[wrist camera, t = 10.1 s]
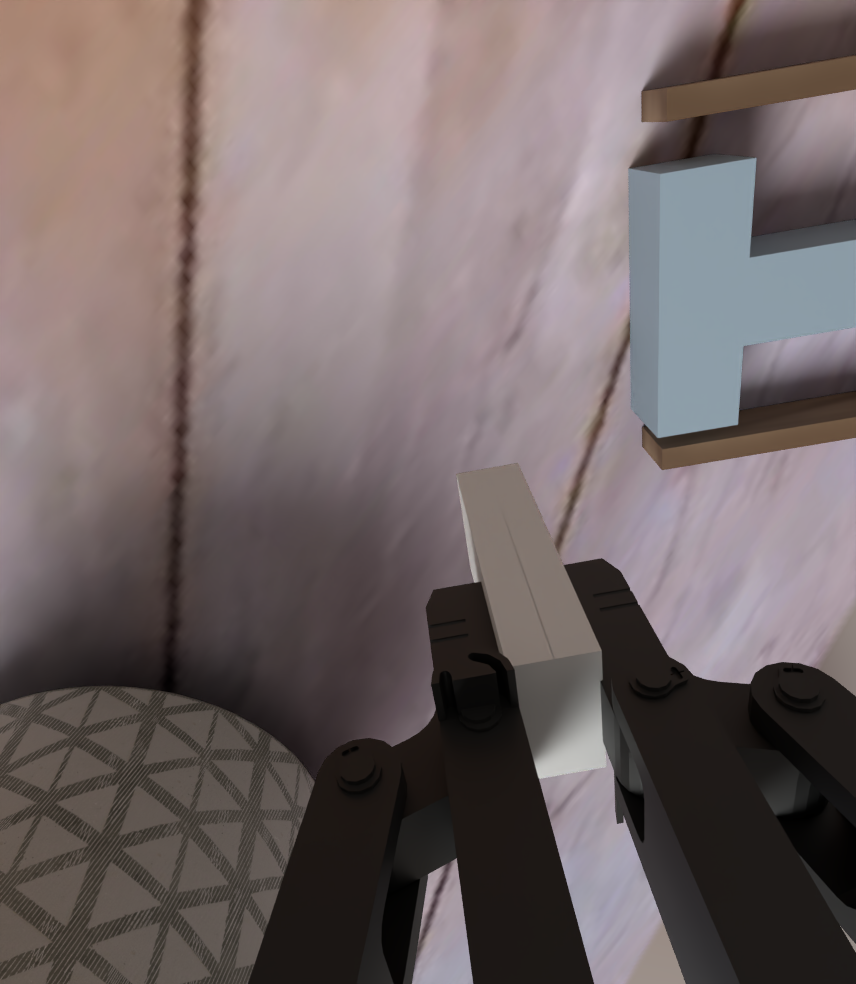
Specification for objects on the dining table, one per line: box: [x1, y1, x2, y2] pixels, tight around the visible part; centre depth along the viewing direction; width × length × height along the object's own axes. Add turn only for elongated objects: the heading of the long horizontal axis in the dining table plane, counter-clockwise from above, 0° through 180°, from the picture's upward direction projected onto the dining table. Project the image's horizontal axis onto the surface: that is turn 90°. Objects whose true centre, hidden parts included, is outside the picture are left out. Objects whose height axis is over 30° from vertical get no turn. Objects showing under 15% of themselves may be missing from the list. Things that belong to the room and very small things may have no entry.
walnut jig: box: [642, 55, 856, 470], centre depth 33 cm, size 17×14×3 cm
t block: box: [628, 154, 856, 438], centre depth 33 cm, size 12×12×4 cm
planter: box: [0, 686, 315, 984], centre depth 38 cm, size 25×25×24 cm
